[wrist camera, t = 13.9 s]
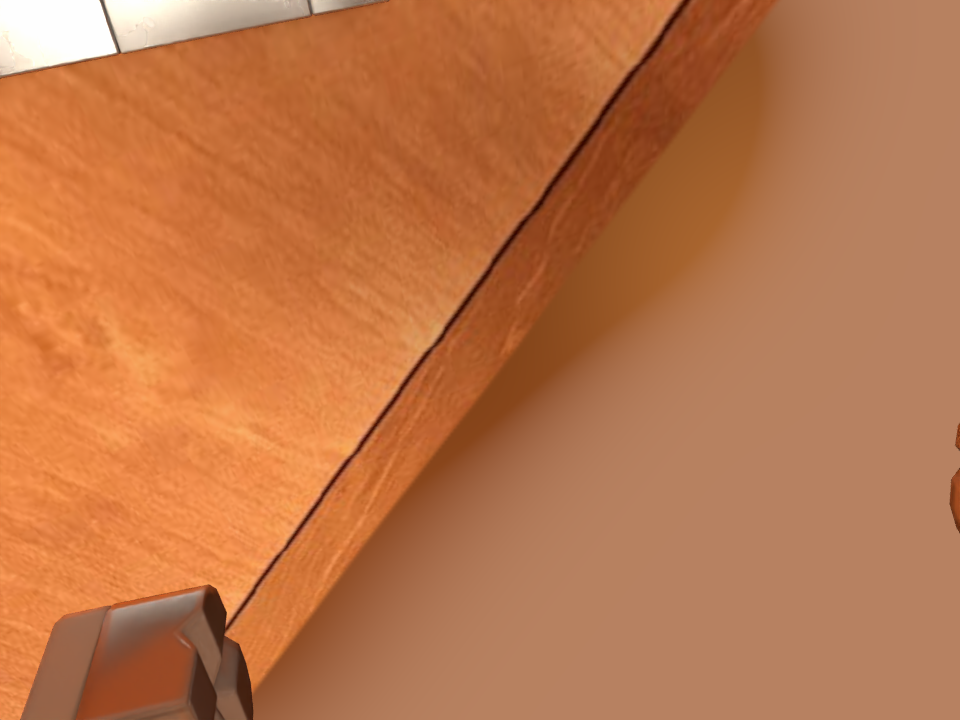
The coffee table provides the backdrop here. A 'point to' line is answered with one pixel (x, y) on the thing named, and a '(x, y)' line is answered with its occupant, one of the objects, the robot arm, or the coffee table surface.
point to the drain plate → (131, 26)
